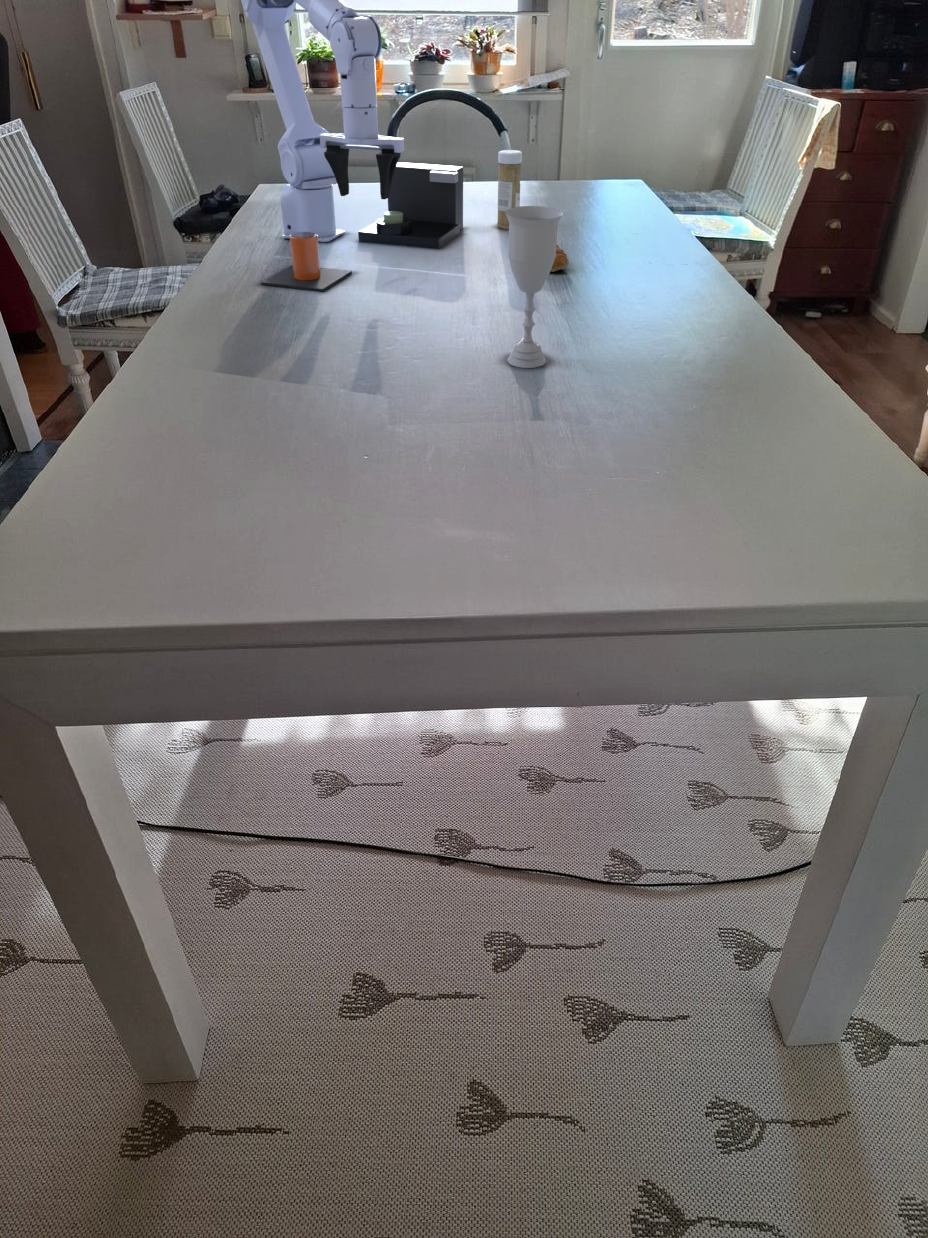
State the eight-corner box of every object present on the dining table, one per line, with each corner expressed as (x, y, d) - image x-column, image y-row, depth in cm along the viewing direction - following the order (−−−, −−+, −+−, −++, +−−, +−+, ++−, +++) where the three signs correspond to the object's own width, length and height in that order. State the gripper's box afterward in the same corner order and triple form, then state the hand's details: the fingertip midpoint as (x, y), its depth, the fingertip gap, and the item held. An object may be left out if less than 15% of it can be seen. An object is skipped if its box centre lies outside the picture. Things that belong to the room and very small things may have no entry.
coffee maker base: (358, 242, 162) (356, 222, 160) (383, 227, 172) (382, 208, 170) (438, 249, 158) (438, 229, 156) (460, 234, 168) (460, 214, 166)
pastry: (578, 270, 148) (579, 247, 146) (545, 276, 145) (547, 252, 143) (546, 257, 154) (547, 234, 152) (514, 263, 152) (515, 240, 149)
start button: (381, 224, 161) (380, 214, 160) (388, 220, 163) (388, 210, 162) (399, 226, 160) (398, 215, 159) (406, 221, 162) (405, 211, 161)
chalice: (497, 351, 117) (501, 206, 106) (547, 350, 117) (556, 205, 106) (504, 371, 111) (509, 220, 100) (556, 370, 111) (567, 219, 100)
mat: (261, 284, 140) (261, 282, 140) (293, 267, 149) (293, 264, 149) (323, 291, 138) (322, 288, 137) (351, 273, 146) (351, 270, 146)
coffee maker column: (385, 229, 170) (382, 167, 164) (397, 222, 175) (395, 161, 169) (454, 236, 167) (454, 172, 160) (465, 228, 172) (465, 166, 165)
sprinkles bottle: (523, 227, 172) (527, 151, 164) (505, 230, 170) (507, 153, 162) (510, 223, 175) (513, 148, 167) (491, 225, 173) (493, 150, 165)
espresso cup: (289, 278, 142) (284, 236, 138) (301, 271, 145) (297, 230, 141) (313, 281, 141) (309, 238, 137) (325, 274, 144) (321, 232, 140)
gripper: (308, 106, 141) (316, 197, 149) (391, 110, 137) (394, 204, 146) (327, 101, 146) (334, 189, 155) (407, 105, 143) (410, 195, 151)
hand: (364, 196), depth 150 cm, fingers open, 7 cm apart
